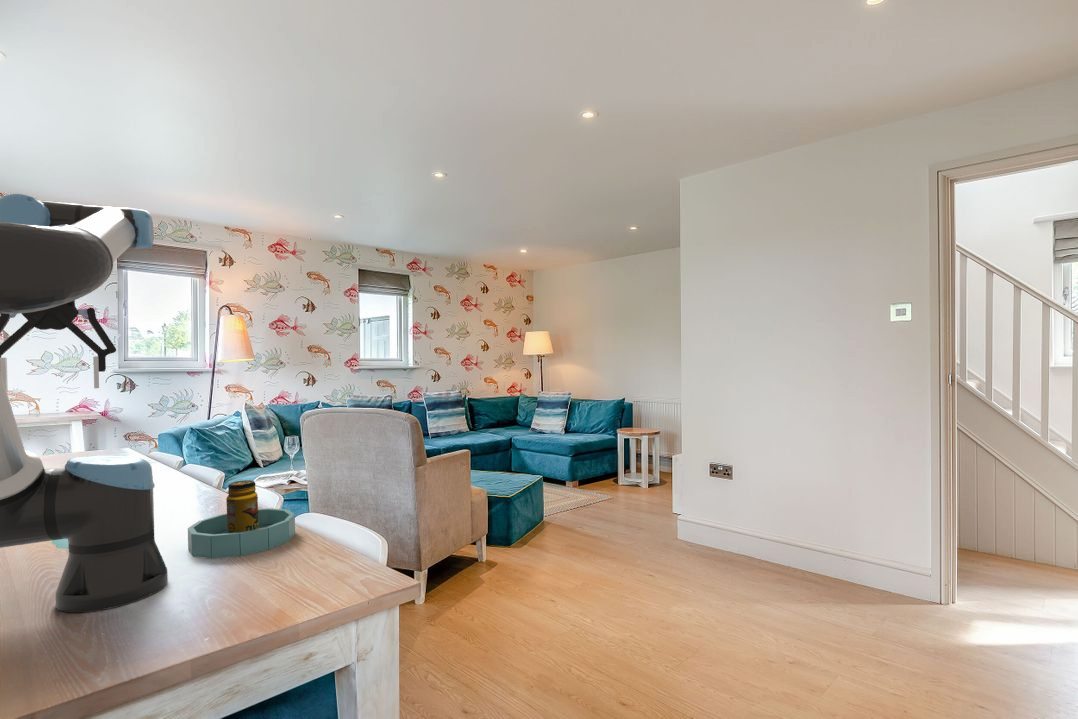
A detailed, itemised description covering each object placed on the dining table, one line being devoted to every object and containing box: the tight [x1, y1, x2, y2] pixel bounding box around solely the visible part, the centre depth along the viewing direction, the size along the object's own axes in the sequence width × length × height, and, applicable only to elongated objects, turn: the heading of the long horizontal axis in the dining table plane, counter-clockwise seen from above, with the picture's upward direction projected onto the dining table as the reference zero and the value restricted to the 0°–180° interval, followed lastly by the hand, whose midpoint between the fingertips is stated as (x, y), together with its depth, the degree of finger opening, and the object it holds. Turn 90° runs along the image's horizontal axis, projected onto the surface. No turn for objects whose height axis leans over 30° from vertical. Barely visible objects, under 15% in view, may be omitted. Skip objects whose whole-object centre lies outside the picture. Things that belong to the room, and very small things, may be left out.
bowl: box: [187, 507, 296, 559], centre depth 120 cm, size 20×20×4 cm
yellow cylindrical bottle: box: [226, 479, 259, 533], centre depth 120 cm, size 7×8×12 cm
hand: (52, 390), depth 108 cm, fingers open, 13 cm apart
